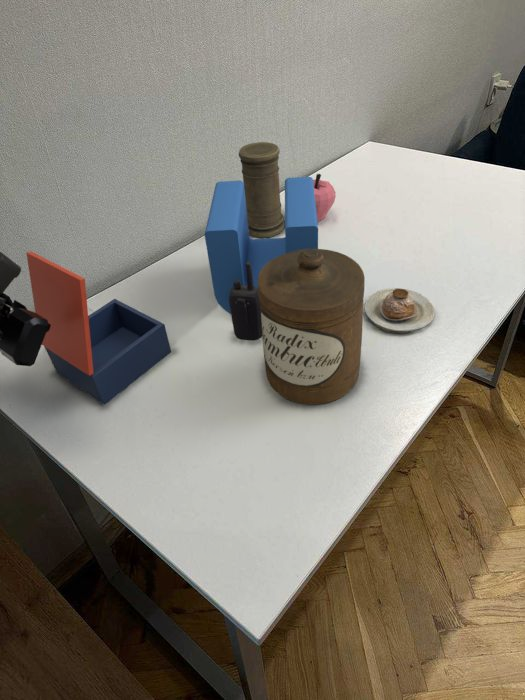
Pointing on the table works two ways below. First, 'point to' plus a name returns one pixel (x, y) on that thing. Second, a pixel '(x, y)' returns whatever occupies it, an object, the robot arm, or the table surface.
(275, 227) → the container
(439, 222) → the table surface
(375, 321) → the pastry
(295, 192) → the block
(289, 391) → the wooden container
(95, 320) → the box
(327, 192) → the apple
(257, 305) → the two-way radio
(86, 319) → the lid
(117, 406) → the table surface
